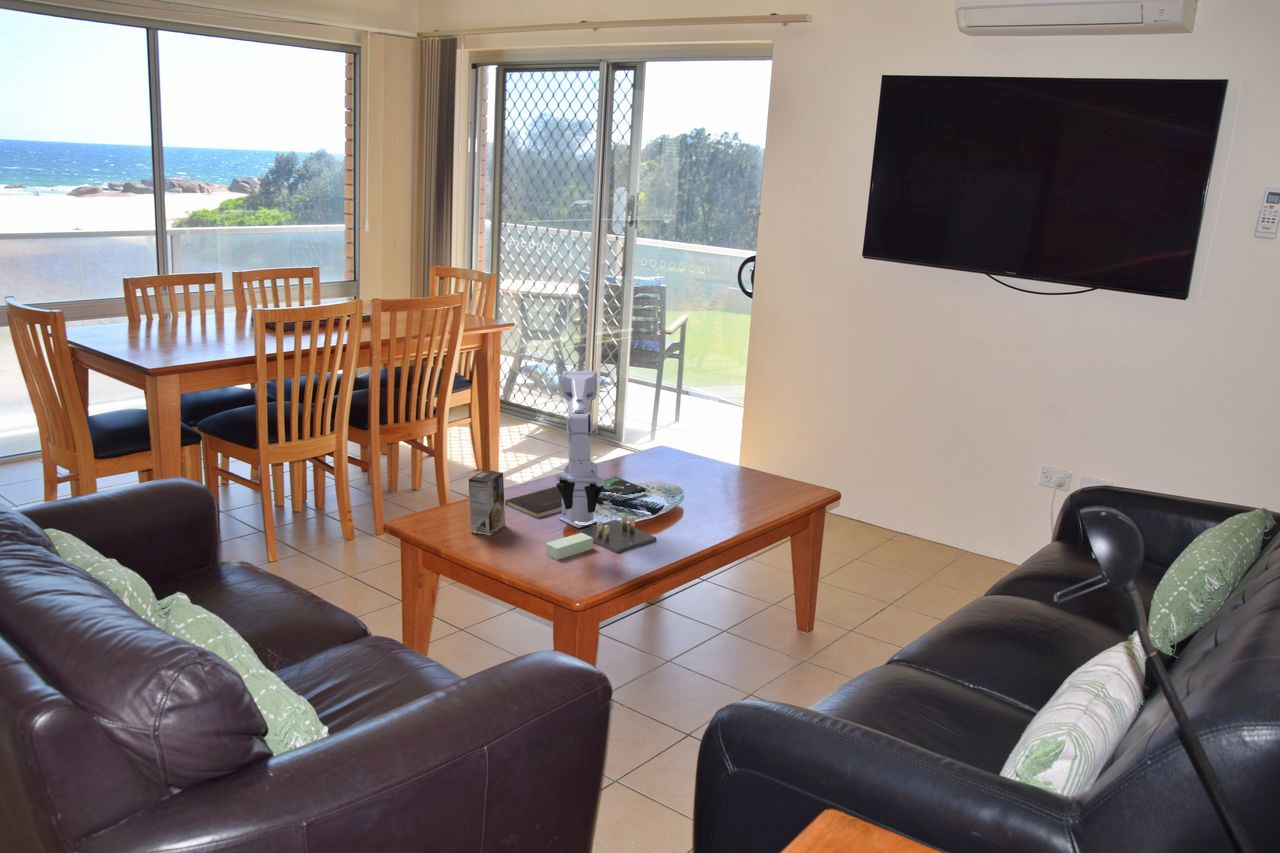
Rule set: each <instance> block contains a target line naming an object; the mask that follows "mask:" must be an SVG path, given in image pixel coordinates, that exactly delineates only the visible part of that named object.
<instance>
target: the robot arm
mask: <svg viewBox="0 0 1280 853" xmlns="http://www.w3.org/2000/svg"><path fill="white" fill-rule="evenodd" d="M561 376H562V377H561V378H562V382H561V383H562V385H561V386H562V393H563V398H564V400H566V401H568V402H569V403H568V415H567V416H566V435H567V442H568V462H566V463H565V465H564V466H563V472H558V473H556V474H555V481H556V482H557V483H556V486H557V488H558V489H559V491H560V493H561V495H562V511H561V517H559V520H561V521H562V522H565V523H567V524H569V525H571V526H573V527H576V528H577V529H578V528H579V529H580V528H581V529H582V528H584V527H586V526H585V525H578V524H575V523H573V522H575V521H578V522H589V521H591V520H593V519H594V518H595V515H594V514H595V513H594V512H596V507H597V504H598V501H599V497H600V495H601V491H602V490H603V485H604V480H605V478H604V477H601V476H600V477H599V471H598V465H597V464H596V463H595V462H594V461H592V460H591V434H592V433H593V423H592V422H593V418H592V413H591V403H590V402H592V401H594V400H596V399H597V396H598V392H597V391H598V372H597V371H596V370H577V371H576V370H564V371H562V375H561Z"/></svg>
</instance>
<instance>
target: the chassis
mask: <svg viewBox="0 0 1280 853" xmlns="http://www.w3.org/2000/svg"><path fill="white" fill-rule="evenodd" d="M621 516H622V518H621V519H622V521H619V520H617V519H613V520H610V521H607V522H602V521H600V522H597V523H596V525H595V524H594V525H593V526H589V527H588V526H587V527H585V528H581V529H578V530H576V532H575V534H579V533H583V534H586V535H588V536H590V537H592V538H593V544H597V545H599V546H601V547H603V548H604V549H607V550H609V551H611V552H613V553H616V554H618V553H621V552H622V553H623V552H625V551H628V550H631V549H634V548H638V547H640V546H644V545H648V544H650V543H654V542H656V541H657V537H656V536H654V535H651V534H649V533H647V532H644V531H642V530H640V529H638V528H635V526H636V524H635V523H636V522H635V521H636V520H635V518H634V517H629V524H628V514H622V515H621Z"/></svg>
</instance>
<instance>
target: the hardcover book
mask: <svg viewBox="0 0 1280 853" xmlns="http://www.w3.org/2000/svg"><path fill="white" fill-rule="evenodd" d="M505 506H509V507H511V508H513V509H516V510H518V511H520V512H523V513H525V514H527V515H530V516H532V517H533V518H537V519H538V518H542V517H544V516H545V517H546V516H548V515H552V514H556V513H559V512H562V495H561V493H560V491H559V489H558V488H557V485H556V486H554V487H549V488H545V489H542V490H537V491H534V492H531V493H526V494H524V495H520V496H516V497H512V498H508V499H505Z"/></svg>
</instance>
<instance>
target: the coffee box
mask: <svg viewBox="0 0 1280 853" xmlns="http://www.w3.org/2000/svg"><path fill="white" fill-rule="evenodd" d="M468 491H469V492H468V494H469V496H468V497H469V513H470V514H469V515H470V532H471V531H476V532H481V533H486V534H491V533H493V532H495V531H496V532H498V531H499V530H500V529H501V528H503V527H505V526H506V517H505V516H506V514H505V492H504V491H505V489H504V472H500V471H495V470H488V469H483V470H481V471H480V472H478V473H476V474H474V475H473V476H471V477H469V478H468ZM498 529H499V530H498ZM496 532H495V533H496ZM493 534H494V533H493Z"/></svg>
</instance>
